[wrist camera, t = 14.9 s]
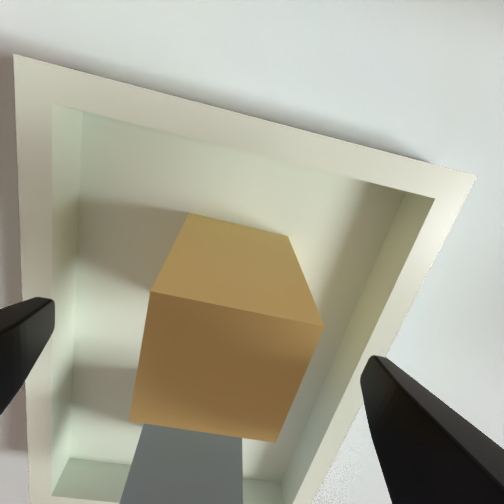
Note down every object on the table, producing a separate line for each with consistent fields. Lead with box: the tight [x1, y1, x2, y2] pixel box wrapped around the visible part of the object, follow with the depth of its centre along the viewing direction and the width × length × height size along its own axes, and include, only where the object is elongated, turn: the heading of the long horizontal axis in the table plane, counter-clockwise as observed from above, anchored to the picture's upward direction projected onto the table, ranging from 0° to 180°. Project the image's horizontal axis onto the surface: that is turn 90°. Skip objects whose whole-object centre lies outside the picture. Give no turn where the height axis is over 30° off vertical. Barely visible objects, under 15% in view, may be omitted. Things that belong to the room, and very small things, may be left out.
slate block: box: [119, 424, 243, 504], centre depth 14 cm, size 4×4×6 cm
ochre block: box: [129, 213, 325, 443], centre depth 11 cm, size 4×4×6 cm
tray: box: [13, 54, 477, 504], centre depth 14 cm, size 20×14×2 cm
